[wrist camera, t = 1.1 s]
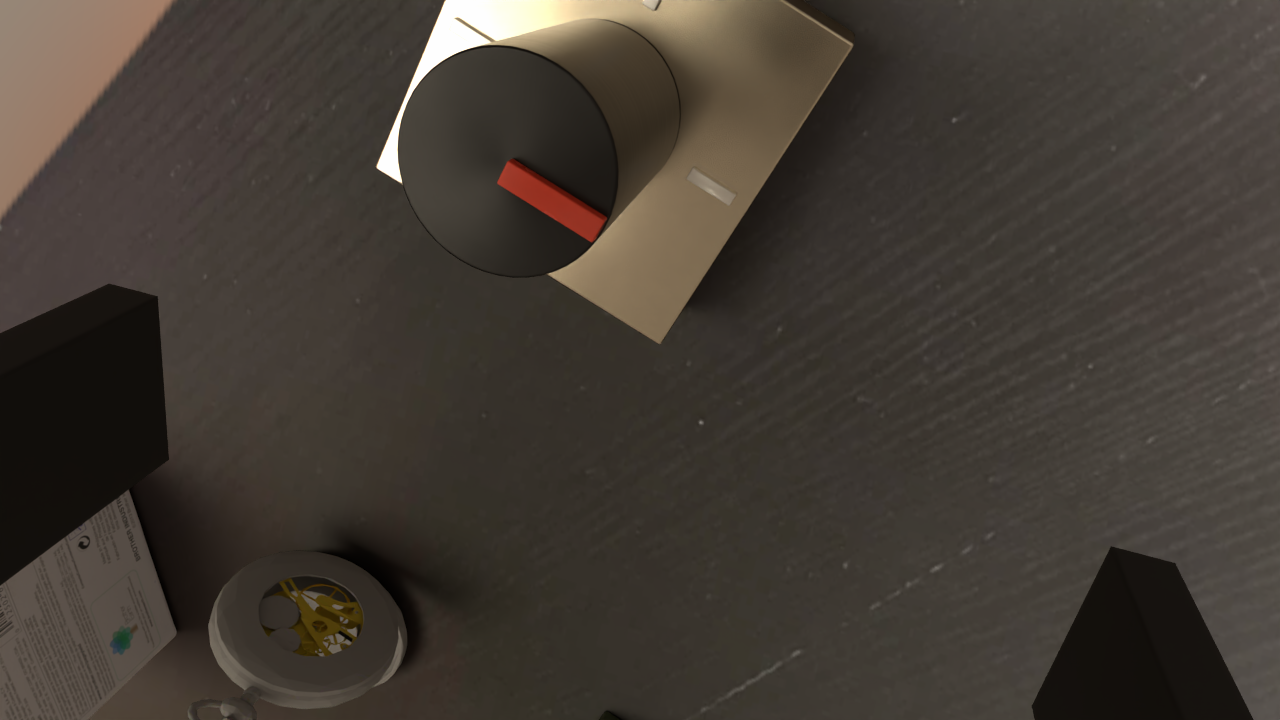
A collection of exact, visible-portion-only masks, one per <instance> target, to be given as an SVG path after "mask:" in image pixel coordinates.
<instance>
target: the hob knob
mask: <svg viewBox="0 0 1280 720" xmlns="http://www.w3.org/2000/svg"><path fill="white" fill-rule="evenodd" d="M679 119H680V109H679V99H678V94H677V89H676V86H675V83H674V80H673V77H672V75H671V73H670V71H669V69H668V67H667V65H666V64H665V62H664V60H663V59H662V57H661V56H660V55H659V54H658V52H657V51H656V50H655V49H654V47H652V46H651V45H650V44H649V43H648V42H647V41H646V40H645V39H644V38H642V37H641V36H640V35H638V34H637V33H636V32H634V31H632V30H630V29H628V28H626V27H625V26H622V25H619V24H617V23H614V22H610V21H605V20H599V19H580V20H574V21H570V22H566V23H562V24H558V25H554V26H551V27H547V28H543V29H539V30H536V31H532V32H528V33H524V34H521V35H517V36H513V37H509V38H506V39H502V40H498V41H495V42H491V43H487V44H483V45H480V46H476V47H472V48H468V49H466V50H463V51H460V52H458V53H455V54H453V55H451V56H449V57H448V58H446V59H444V60H442V61H441V62H440V63H438V64H437V65H436V66H434V67H433V68H432V69H431V70H430V71H429V72H428V73H427V74H426V75H425V76H424V77H423V78H422V79H421V80H420V82H419V83H418V85H417V86H416V87H415V89H414V90H413V92H412V94H411V96H410V98H409V100H408V102H407V104H406V106H405V109H404V112H403V115H402V118H401V122H400V127H399V132H398V145H397V152H398V165H399V171H400V177H401V180H402V184H403V187H404V191H405V193H406V196H407V198H408V200H409V203H410V205H411V207H412V209H413V211H414V212H415V214H416V216H417V218H418V219H419V221H420V222H421V223H422V225H423V226H424V228H425V229H426V230H427V232H428V233H429V234H430V235H431V236H432V237H433V238H434V239H435V240H436V242H438V243H439V244H440V245H441V246H442V247H443V248H444V249H445V250H447V251H448V252H449V253H450V254H452V255H453V256H455V257H456V258H458V259H459V260H461V261H463V262H464V263H466V264H468V265H470V266H472V267H474V268H477V269H479V270H482V271H484V272H487V273H491V274H495V275H499V276H506V277H534V276H541V275H545V274H548V273H552V272H555V271H557V270H559V269H562V268H564V267H566V266H568V265H569V264H571V263H573V262H574V261H576V260H577V259H579V258H580V257H581V256H582V255H583V254H585V253H586V252H587V251H588V250H589V249H590V248H591V247H592V245H593V244H594V243H595V242H596V241H597V240H598V239H599V238H600V237H601V235H602V234H603V233H604V232H605V231H606V230H607V229H608V228H609V227H610V225H611V224H612V223H613V222H614V221H615V220H616V219H617V218H618V217H619V215H620V214H621V213H622V212H623V211H624V210H625V209H626V208H627V207H628V205H629V204H630V203H631V202H632V201H633V200H634V199H635V198H636V197H637V195H638V194H639V193H640V192H641V191H642V190H643V189H644V188H645V187H646V185H647V184H648V183H649V182H650V181H651V180H652V179H653V178H654V177H655V175H656V174H657V173H658V172H659V171H660V170H661V169H662V167H663V166H664V164H665V163H666V161H667V160H668V158H669V156H670V154H671V152H672V150H673V147H674V144H675V142H676V139H677V134H678V129H679Z"/></svg>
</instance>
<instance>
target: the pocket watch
mask: <svg viewBox="0 0 1280 720" xmlns="http://www.w3.org/2000/svg"><path fill="white" fill-rule="evenodd" d="M208 628H209V637H210V646H211V649H212V651H213V653H214V655H215V658H216V660H217V662H218V665H219V666H220V667H221V668H222V669H223V670H224V672H225V673H226V674H227V675H228V676H229V677H230V679H231V680H232V681H233V682H234V683H236V684H237V685H239V686H240V687H241V688H243V689H244V690H245V692H244V694H243V695H242V696H241V698H240V699H238V698H235V697H233V698H227V699H225V700H223V701H217V700H211V699H209V700H201V701H198V702H195V703H192V704H191V706H190V707H189V709H188V717H189V719H190V720H200V719H199V718H198V716H197V710H198V709H199V708H204V707H217V708H220V710H221V713H222V714H223V716H224V718H223V719H222V720H256V718H257V714H256V711H255V709H254V707H253V704H254V703H255V702H256V701H258V700H259V698H261V699H263V700H266V701H268V702H271V703H274V704H276V705H279V706H285V707H292V708H300V709H312V708H325V707H334V706H337V705H339V704H342V703H344V702H347V701H349V700H352V699H355V698H357V697H360V696H362V695H363V694H364V693H365V692H367V691H368V690H369V689H370V688H372V687H375V686H378V685H380V684H382V683H384V682H386V681H387V680H388V679H389V678H390V677H391V676H392V675H393V674H394V673H395V672H396V670H397V669H398V668H399V666H400V665H401V664H402V660H403V657H404V656H405V652H406V648H407V630H406V627H405V623H404V619H403V616H402V613H401V610H400V609H399V607H398V606H397V604H396V603H395V601H394V600H393V598H392V597H391V595H390V593H389V592H388V591H387V590H386V589H385V588H384V587H383V586H382V585H381V584H380V583H379V581H377V580H376V579H375V578H374V577H373V576H371V575H370V574H369V573H368V572H367V571H365V570H364V569H362V568H360V567H359V566H357V565H355V564H354V563H352V562H349V561H347V560H345V559H342V558H340V557H337V556H333V555H329V554H325V553H321V552H316V551H288V552H279V553H276V554H272V555H269V556H265V557H262V558H259V559H257V560H255V561H253V562H252V563H250V564H248V565H246V566H244V567H243V568H242V569H241V570H240V571H239V572H237V573H236V574H235V575H234V576H233V577H232V578H231V579H230V581H229V582H228V583H227V584H226V585H224V587H223V588H222V590H221V592H220V594H219V596H218V597H217V599H216V601H215V603H214V607H213V610H212V614H211V617H210V621H209V624H208Z"/></svg>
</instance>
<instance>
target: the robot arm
mask: <svg viewBox="0 0 1280 720" xmlns="http://www.w3.org/2000/svg"><path fill="white" fill-rule="evenodd" d="M168 460H169V454H168V440H167V425H166V411H165V396H164V382H163V367H162V353H161V339H160V324H159V310H158V296H154V295H150V294H146V293H143V292H139V291H135V290H131V289H127V288H124V287H120V286H116V285H112V284H107V285H105V286H103V287H101V288H99V289H96V290H94V291H92V292H90V293H88V294H85V295H83V296H81V297H79V298H77V299H74V300H72V301H70V302H68V303H66V304H64V305H61V306H59V307H57V308H55V309H53V310H50V311H48V312H46V313H44V314H42V315H39V316H37V317H35V318H33V319H31V320H28V321H26V322H24V323H22V324H20V325H17V326H15V327H13V328H11V329H9V330H7V331H4V332H2V333H0V586H1V585H2V584H3V583H5V582H6V581H7V580H9V579H10V578H11V577H13V576H14V575H15V574H17V573H18V572H19V571H21V570H22V569H23V568H25V567H26V566H27V565H29V564H30V563H31V562H33V561H34V560H35V559H37V558H38V557H39V556H41V555H42V554H43V553H45V552H46V551H47V550H49V549H50V548H51V547H53V546H54V545H55V544H57V543H58V542H59V541H61V540H62V539H63V538H65V537H66V536H67V535H69V534H70V533H71V532H73V531H74V530H75V529H77V528H78V527H79V526H81V525H82V524H83V523H85V522H86V521H87V520H89V519H90V518H91V517H93V516H94V515H95V514H97V513H98V512H99V511H101V510H102V509H103V508H105V507H106V506H107V505H109V504H110V503H111V502H113V501H114V500H115V499H117V498H118V497H119V496H121V495H122V494H123V493H125V492H126V491H127V490H129V489H130V488H131V487H133V486H134V485H135V484H137V483H138V482H139V481H141V480H142V479H143V478H145V477H146V476H147V475H149V474H150V473H151V472H153V471H154V470H155V469H157V468H158V467H160V466H161V465H162V464H164V463H165V462H166V461H168ZM1032 709H1033V713H1034V718H1035V720H1253V718H1252V716H1251V714H1250V712H1249V710H1248V708H1247V706H1246V704H1245V702H1244V700H1243V698H1242V696H1241V694H1240V692H1239V690H1238V688H1237V686H1236V684H1235V682H1234V680H1233V678H1232V676H1231V674H1230V672H1229V670H1228V668H1227V666H1226V664H1225V662H1224V660H1223V658H1222V656H1221V654H1220V652H1219V650H1218V648H1217V646H1216V644H1215V642H1214V640H1213V638H1212V636H1211V634H1210V632H1209V630H1208V628H1207V626H1206V624H1205V622H1204V620H1203V618H1202V616H1201V614H1200V612H1199V610H1198V608H1197V606H1196V604H1195V602H1194V600H1193V598H1192V596H1191V594H1190V592H1189V590H1188V588H1187V586H1186V584H1185V582H1184V580H1183V578H1182V576H1181V574H1180V572H1179V570H1178V568H1177V566H1176V564H1175V563H1172V562H1169V561H1165V560H1161V559H1157V558H1153V557H1150V556H1146V555H1142V554H1138V553H1134V552H1130V551H1127V550H1123V549H1119V548H1115V547H1111V548H1110V550H1109V552H1108V554H1107V556H1106V558H1105V560H1104V562H1103V564H1102V566H1101V568H1100V570H1099V572H1098V574H1097V576H1096V578H1095V580H1094V582H1093V584H1092V586H1091V588H1090V590H1089V592H1088V594H1087V596H1086V598H1085V600H1084V602H1083V604H1082V606H1081V608H1080V610H1079V612H1078V614H1077V616H1076V618H1075V620H1074V622H1073V624H1072V626H1071V628H1070V630H1069V632H1068V634H1067V636H1066V638H1065V640H1064V642H1063V644H1062V646H1061V648H1060V650H1059V652H1058V654H1057V656H1056V658H1055V660H1054V662H1053V664H1052V666H1051V668H1050V670H1049V672H1048V674H1047V676H1046V679H1045V681H1044V683H1043V685H1042V687H1041V689H1040V691H1039V693H1038V695H1037V697H1036V699H1035V701H1034V703H1033V705H1032Z"/></svg>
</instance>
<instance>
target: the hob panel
mask: <svg viewBox="0 0 1280 720" xmlns="http://www.w3.org/2000/svg"><path fill="white" fill-rule="evenodd" d="M580 19H599V20H605V21H610V22H614V23H617V24H619V25H622V26H625V27H626V28H628V29H630V30H632V31H634V32H636V33H637V34H638V35H640V36H641V37H642V38H644V39H645V40H646V41H647V42H648V43H649V44H650V45H651V46H652V47H654V49H655V50H656V51H657V52H658V54H659V55H660V56H661V57H662V59H663V60H664V62H665V64H666V65H667V67H668V69H669V71H670V73H671V75H672V77H673V80H674V83H675V86H676V89H677V94H678V99H679V109H680V119H679V129H678V134H677V139H676V142H675V144H674V147H673V150H672V152H671V154H670V156H669V158H668V160H667V161H666V163H665V164H664V166H663V167H662V169H661V170H660V171H659V172H658V173H657V174H656V175H655V177H654V178H653V179H652V180H651V181H650V182H649V183H648V184H647V185H646V187H645V188H644V189H643V190H642V191H641V192H640V193H639V194H638V195H637V197H636V198H635V199H634V200H633V201H632V202H631V203H630V204H629V205H628V207H627V208H626V209H625V210H624V211H623V212H622V213H621V214H620V215H619V217H618V218H617V219H616V220H615V221H614V222H613V223H612V224H611V225H610V227H609V228H608V229H607V230H606V231H605V232H604V233H603V234H602V235H601V237H600V238H599V239H598V240H597V241H596V242H595V243H594V244H593V245H592V247H591V248H590V249H589V250H588V251H587V252H586V253H585V254H583V255H582V256H581V257H580V258H579V259H577V260H576V261H574V262H573V263H571V264H569V265H568V266H566V267H564V268H562V269H559V270H557V271H555V272H552V273H548V274H546V275H548V276H549V277H551V278H553V279H554V280H556V281H557V282H559V283H561V284H562V285H564V286H566V287H567V288H569V289H570V290H572V291H574V292H575V293H577V294H578V295H580V296H582V297H583V298H585V299H586V300H588V301H590V302H591V303H593V304H595V305H596V306H598V307H599V308H601V309H603V310H604V311H606V312H607V313H609V314H611V315H612V316H614V317H615V318H617V319H619V320H620V321H622V322H624V323H625V324H627V325H628V326H630V327H632V328H633V329H635V330H636V331H638V332H640V333H641V334H643V335H644V336H646V337H648V338H649V339H651V340H653V341H654V342H656V343H657V344H661V343H662V341H663V340H664V338H665V337H666V335H667V334H668V332H669V331H670V329H671V328H672V326H673V325H674V323H675V321H676V320H677V318H678V317H679V315H680V314H681V312H682V311H683V309H684V308H685V306H686V304H687V303H688V301H689V300H690V298H691V297H692V295H693V294H694V292H695V291H696V289H697V288H698V286H699V284H700V283H701V281H702V280H703V278H704V277H705V275H706V274H707V272H708V271H709V269H710V268H711V266H712V264H713V263H714V261H715V260H716V258H717V257H718V255H719V254H720V252H721V251H722V249H723V247H724V246H725V244H726V243H727V241H728V240H729V238H730V237H731V235H732V234H733V232H734V231H735V229H736V227H737V226H738V224H739V223H740V221H741V220H742V218H743V217H744V215H745V214H746V212H747V211H748V209H749V207H750V206H751V204H752V203H753V201H754V200H755V198H756V197H757V195H758V194H759V192H760V190H761V189H762V187H763V186H764V184H765V183H766V181H767V180H768V178H769V177H770V175H771V174H772V172H773V170H774V169H775V167H776V166H777V164H778V163H779V161H780V160H781V158H782V157H783V155H784V153H785V152H786V150H787V149H788V147H789V146H790V144H791V143H792V141H793V140H794V138H795V137H796V135H797V133H798V132H799V130H800V129H801V127H802V126H803V124H804V123H805V121H806V120H807V118H808V117H809V115H810V113H811V112H812V110H813V109H814V107H815V106H816V104H817V103H818V101H819V100H820V98H821V96H822V95H823V93H824V92H825V90H826V89H827V87H828V86H829V84H830V83H831V81H832V80H833V78H834V76H835V75H836V73H837V72H838V70H839V69H840V67H841V66H842V64H843V63H844V61H845V59H846V58H847V56H848V55H849V53H850V52H851V50H852V49H853V47H854V40H855V34H854V33H853V32H852V31H850V30H849V29H847V28H846V27H844V26H842V25H841V24H839V23H838V22H836V21H835V20H833V19H832V18H830V17H828V16H827V15H825V14H824V13H822V12H821V11H819V10H817V9H816V8H814V7H813V6H811V5H810V4H808V3H806V2H805V1H803V0H444V2H443V5H442V7H441V9H440V12H439V14H438V17H437V19H436V21H435V24H434V26H433V29H432V31H431V33H430V36H429V38H428V41H427V43H426V46H425V48H424V50H423V53H422V55H421V58H420V60H419V62H418V65H417V67H416V70H415V72H414V74H413V77H412V79H411V82H410V84H409V87H408V89H407V91H406V94H405V96H404V99H403V101H402V103H401V106H400V108H399V111H398V113H397V115H396V118H395V120H394V123H393V125H392V128H391V130H390V132H389V135H388V137H387V140H386V142H385V144H384V147H383V149H382V152H381V154H380V157H379V159H378V161H377V164H376V166H375V168H376V169H377V170H379V171H380V172H382V173H384V174H385V175H387V176H388V177H390V178H392V179H393V180H395V181H396V182H398V183H400V184H401V185H403V184H402V180H401V177H400V171H399V165H398V152H397V145H398V132H399V127H400V122H401V118H402V115H403V112H404V109H405V106H406V104H407V102H408V100H409V98H410V96H411V94H412V92H413V90H414V89H415V87H416V86H417V85H418V83H419V82H420V80H421V79H422V78H423V77H424V76H425V75H426V74H427V73H428V72H429V71H430V70H431V69H432V68H433V67H434V66H436V65H437V64H438V63H440V62H441V61H442V60H444V59H446V58H448V57H449V56H451V55H453V54H455V53H458V52H460V51H463V50H466V49H468V48H472V47H476V46H480V45H483V44H487V43H491V42H495V41H498V40H502V39H506V38H509V37H513V36H517V35H521V34H524V33H528V32H532V31H536V30H539V29H543V28H547V27H551V26H554V25H558V24H562V23H566V22H570V21H574V20H580Z"/></svg>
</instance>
